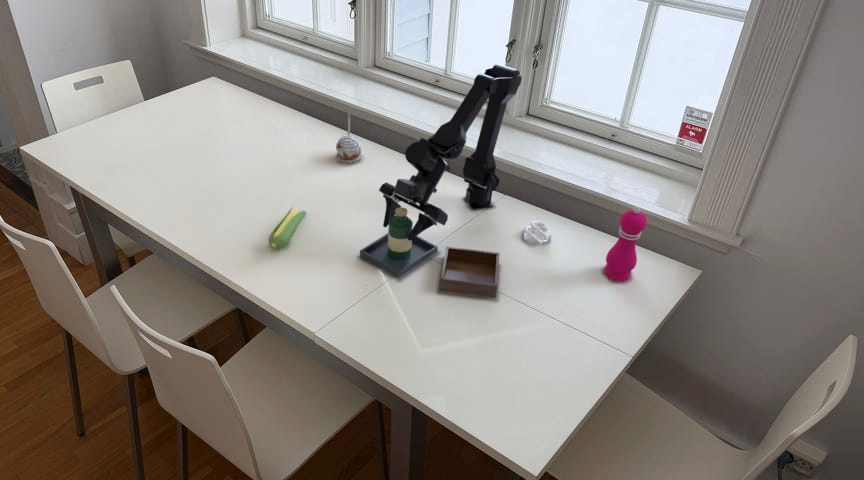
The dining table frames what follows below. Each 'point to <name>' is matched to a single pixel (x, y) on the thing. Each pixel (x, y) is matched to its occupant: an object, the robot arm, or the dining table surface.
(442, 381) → the dining table surface
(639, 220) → the pepper mill
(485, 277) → the crate
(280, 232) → the edible corn
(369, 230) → the dining table surface
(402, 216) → the bottle
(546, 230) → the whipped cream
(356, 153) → the decorative ornament
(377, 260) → the tray
